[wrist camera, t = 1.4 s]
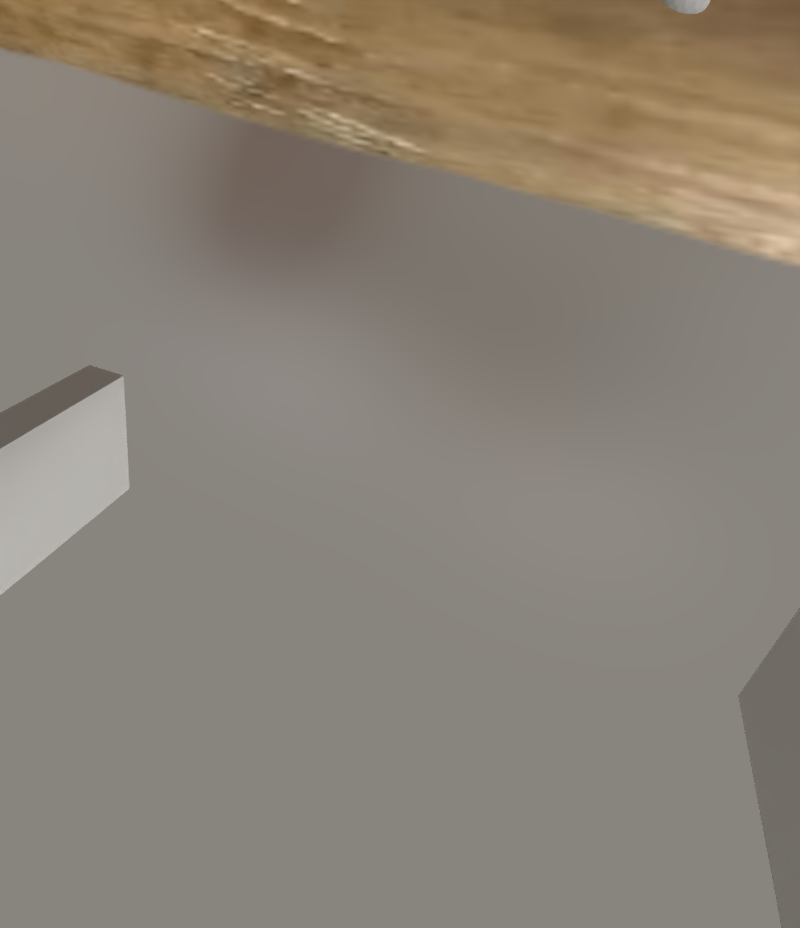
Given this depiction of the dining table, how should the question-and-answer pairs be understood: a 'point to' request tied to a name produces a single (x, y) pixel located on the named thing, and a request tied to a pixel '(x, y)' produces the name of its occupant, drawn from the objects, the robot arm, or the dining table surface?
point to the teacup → (687, 5)
